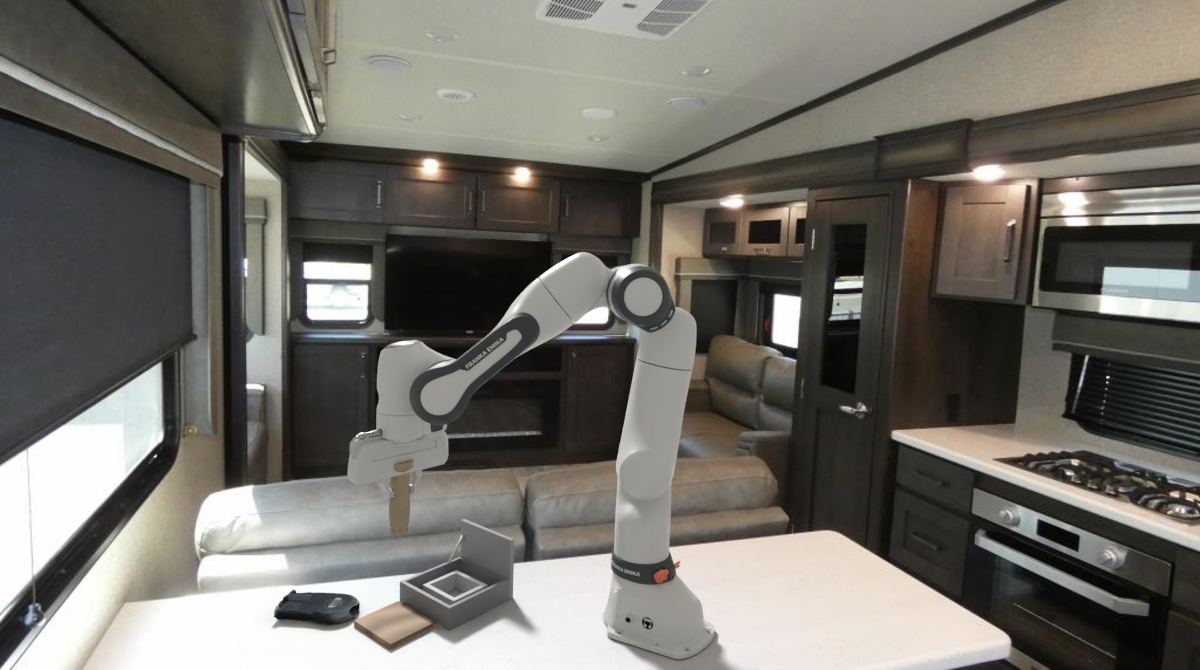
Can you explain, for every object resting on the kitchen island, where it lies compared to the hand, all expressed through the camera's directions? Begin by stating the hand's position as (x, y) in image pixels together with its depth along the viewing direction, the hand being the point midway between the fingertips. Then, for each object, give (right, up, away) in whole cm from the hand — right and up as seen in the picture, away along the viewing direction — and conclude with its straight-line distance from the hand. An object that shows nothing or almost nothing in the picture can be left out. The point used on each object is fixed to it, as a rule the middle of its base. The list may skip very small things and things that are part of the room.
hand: (399, 496), depth 126 cm
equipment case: (+8, -25, +12) cm, 29 cm away
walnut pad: (-1, -26, +2) cm, 26 cm away
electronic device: (-18, -25, +6) cm, 31 cm away
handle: (0, -8, +1) cm, 8 cm away
